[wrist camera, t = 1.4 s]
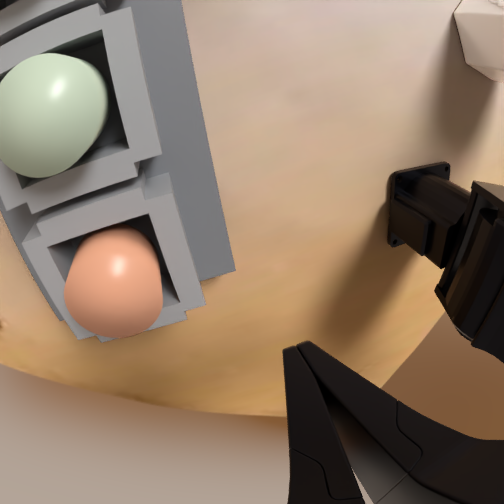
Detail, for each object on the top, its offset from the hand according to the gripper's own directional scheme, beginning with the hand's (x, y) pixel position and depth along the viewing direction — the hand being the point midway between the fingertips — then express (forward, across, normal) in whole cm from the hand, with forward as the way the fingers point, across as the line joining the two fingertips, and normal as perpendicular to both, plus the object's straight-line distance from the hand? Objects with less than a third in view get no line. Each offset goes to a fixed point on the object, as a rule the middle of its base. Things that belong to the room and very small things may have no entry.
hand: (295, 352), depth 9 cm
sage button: (+8, +6, -8) cm, 13 cm away
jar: (+12, -25, -11) cm, 30 cm away
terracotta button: (+8, +6, 0) cm, 10 cm away
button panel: (+12, +6, -8) cm, 16 cm away
